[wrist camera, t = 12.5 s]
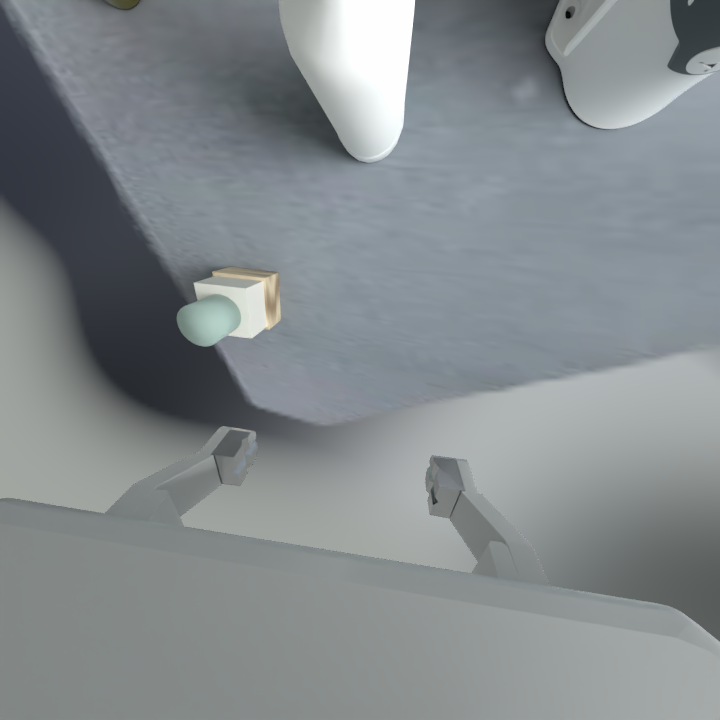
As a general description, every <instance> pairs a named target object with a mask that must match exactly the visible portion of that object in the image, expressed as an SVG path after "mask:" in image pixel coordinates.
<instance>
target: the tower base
mask: <svg viewBox="0 0 720 720" xmlns="http://www.w3.org/2000/svg"><path fill="white" fill-rule="evenodd" d="M212 274H213V277H214V276H223V277H232V278H240V279H249V280H258V281H263V288H264V299H265V310H266V321H267V327H265V328H264V329H268V330H269V329H271V328H272V327H273V326H274V325H275V324H276V323H278V322H279V321H280V320H281V314H280V296H279V277H278V272H269V271H261V270H253V269H244V268H236V267H228V268H224V269H220V270H216V271H213V272H212Z"/></svg>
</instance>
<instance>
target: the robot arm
mask: <svg viewBox="0 0 720 720" xmlns="http://www.w3.org/2000/svg"><path fill="white" fill-rule="evenodd" d="M566 11H569V12H570V14H571V17H570V19H567V18H566V17H565V13H566ZM545 43H546V47H547V49H548V51H549V53H550V55H551V56H552V57H553V59H554V60H555V61H556V63H557V64H558V65H559V67H560V70H561V73H562V79H563V85H564V90H565V94H566V97H567V100H568V102H569V105H570V106H571V108H572V110H573V111H574V113H575V114H576V115H577V116H578V117H579V118H580V119H581V120H582V121H584V122H585V123H587V124H589V125H591V126H594V127H597V128H602V129H617V128H623V127H627V126H630V125H633V124H636V123H638V122H641V121H643V120H645V119H647V118H649V117H650V116H652V115H654V114H655V113H657V112H658V111H660V110H661V109H663V108H664V107H665V106H667V105H668V104H669V103H671V102H672V101H673V100H674V99H675V98H677V97H678V96H679V95H681V94H682V93H683V92H685V91H686V90H688V89H689V88H690V87H692V86H693V85H695V84H696V83H698V82H699V81H701V80H703V79H704V78H706V77H707V76H709V75H711V74H712V73H714V72H716V71H719V70H720V0H560V1H559V3H558V6H557V8H556V10H555V13H554V15H553V18H552V20H551V22H550V25H549V27H548V29H547V32H546V37H545ZM255 438H256V433H255V431H250V430H244V429H238V428H231V427H225V426H222V427H221V428H219V429H218V430H217V432H216V433H215V434H214V435H213V436H212V437H211V439H210V440H209V441H208V442H207V443H206V445H205V446H204V447H203V448H202V449H201V450H200V452H199V453H193V454H191V455H189V456H187V457H185V458H183V459H182V460H180V461H178V462H176V463H174V464H172V465H170V466H168V467H166V468H164V469H162V470H160V471H158V472H156V473H154V474H152V475H151V476H148V477H147V478H145V479H143V480H141V481H139V482H137V483H135V484H133V485H132V486H131V487H130V488H129V490H127V491H126V493H124V494H123V495H122V496H121V497H120V499H119V500H117V501H116V503H114V505H112V506H111V507H110V509H109V510H108V511H107V512H105V513H98V512H92V511H86V510H80V509H74V508H68V507H62V506H56V505H50V504H44V503H37V502H32V501H26V500H20V499H13V498H2V499H0V720H720V642H719V641H718V640H717V639H715V638H714V637H713V636H712V635H710V634H709V633H708V632H707V631H705V630H704V629H703V628H702V627H701V626H699V625H698V624H697V623H695V622H694V621H693V620H691V619H690V618H689V617H687V616H686V615H685V614H683V613H682V612H680V611H678V610H676V609H674V608H672V607H669V606H666V605H661V604H656V603H650V602H644V601H638V600H632V599H626V598H620V597H613V596H607V595H601V594H595V593H588V592H583V591H577V590H570V589H564V588H558V587H552V586H550V585H549V582H548V580H547V578H546V576H545V573H544V571H543V569H542V566H541V564H540V562H539V560H538V557H537V555H536V553H535V551H534V548H533V546H532V545H531V544H530V543H529V542H528V541H527V540H526V539H525V538H524V537H523V536H522V535H521V534H520V533H519V532H518V531H517V530H516V529H515V528H514V527H513V525H512V524H511V523H510V522H508V520H507V519H506V518H505V517H504V516H503V515H502V514H501V513H500V512H499V511H498V510H497V509H496V508H495V507H494V506H493V505H492V504H491V503H490V502H489V501H488V500H487V499H486V498H485V497H484V496H483V494H479V493H478V491H477V487H476V484H475V481H474V478H473V475H472V472H471V469H470V466H469V463H468V461H467V460H464V459H456V458H455V459H454V458H449V457H441V456H431V458H430V467H429V468H427V472H426V490H427V492H428V493H429V497H428V505H429V513H430V515H434V516H440V517H445V518H450V521H451V522H452V523H453V525H454V527H455V528H456V530H457V531H458V533H459V534H460V536H461V537H462V539H463V540H464V542H465V543H466V544H467V546H468V548H469V549H470V551H471V552H472V554H473V555H474V557H475V558H476V560H477V561H478V563H477V565H476V567H475V568H474V570H473V571H472V573H466V572H460V571H453V570H448V569H442V568H435V567H429V566H423V565H417V564H411V563H405V562H399V561H392V560H386V559H380V558H374V557H368V556H362V555H356V554H350V553H344V552H337V551H331V550H325V549H319V548H313V547H307V546H300V545H294V544H288V543H282V542H276V541H270V540H264V539H257V538H251V537H245V536H239V535H233V534H227V533H221V532H214V531H209V530H202V529H196V528H190V527H184V525H183V523H182V521H181V519H180V516H182V515H183V514H184V513H186V512H187V511H188V510H189V509H191V508H192V507H193V506H195V505H196V504H197V503H199V502H200V501H201V500H203V499H204V498H205V497H206V496H208V495H209V494H210V493H212V492H213V491H214V490H216V489H217V488H218V487H219V486H221V484H227V485H236V486H240V485H241V484H242V482H243V480H244V479H245V477H246V475H247V474H248V472H247V468H248V467H250V466H251V465H253V463H254V461H255V460H256V456H257V453H258V445H257V443H256V442H255V441H254V440H255Z"/></svg>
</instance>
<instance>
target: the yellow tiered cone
mask: <svg viewBox="0 0 720 720" xmlns="http://www.w3.org/2000/svg"><path fill="white" fill-rule="evenodd" d="M105 1H107V2H108V3H109V4H111V5H112V6H114V7H116V8H120V9H130V8H132V7H134V6H135V5H136V4H137V3H138V2H139V1H140V0H105Z"/></svg>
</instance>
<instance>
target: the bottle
mask: <svg viewBox="0 0 720 720" xmlns="http://www.w3.org/2000/svg"><path fill="white" fill-rule="evenodd" d="M278 1H279V12H280V20H281V25H282V28H283V32H284V35H285V38H286V41H287V45H288V48H289V51H290V54H291V56H292V58H293V60H294V61H295V63H296V65H297V66H298V68H299V70H300V71H301V73H302V75H303V76H304V78H305V80H306V82H307V83H308V85H309V87H310V88H311V90H312V92H313V93H314V95H315V97H316V98H317V100H318V102H319V103H320V105H321V107H322V109H323V110H324V112H325V114H326V115H327V117H328V119H329V120H330V122H331V124H332V125H333V127H334V129H335V130H336V132H337V134H338V137H339V139H340V141H341V142H342V144H343V145H344V147H345V148H346V150H347V151H348V152H349V153H350V154H351V155H352V156H353V157H355V158H356V159H357V160H359V161H362V162H366V163H372V162H377V161H380V160H382V159H383V158H385V157H386V156H388V155H389V154H390V152H391V151H392V150H393V148H394V147H395V146H396V144H397V142H398V139H399V136H400V134H401V130H402V128H403V120H404V102H405V93H406V83H407V74H408V65H409V55H410V46H411V37H412V27H413V17H414V6H415V0H278Z"/></svg>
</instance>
